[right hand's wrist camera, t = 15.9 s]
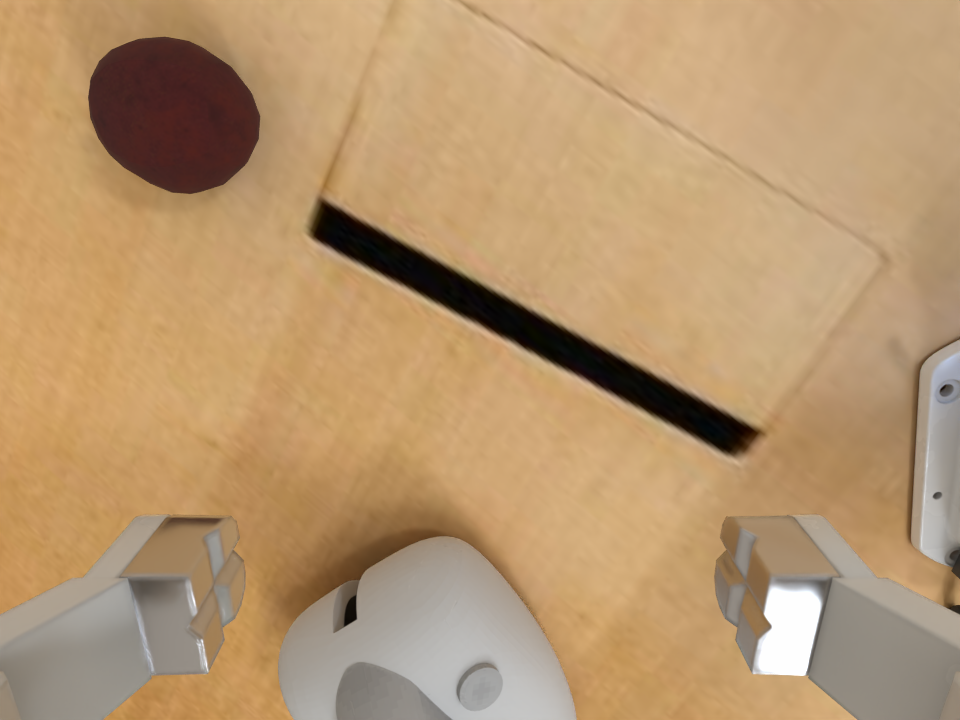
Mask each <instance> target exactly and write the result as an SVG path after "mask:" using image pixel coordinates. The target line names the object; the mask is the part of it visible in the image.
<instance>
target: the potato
mask: <svg viewBox="0 0 960 720" xmlns="http://www.w3.org/2000/svg"><path fill="white" fill-rule="evenodd" d="M88 100H89V109H90V118H91V121H92V123H93V126H94V128H95V131H96V133H97V136H98V138H99V140H100V141H101V143H102V144H103V146H104V147H105V149H106V150H107V151H108V153H109V154H110V155H111V156H112V157H113V158H114V159H115V160H116V161H117V162H118V163H120V164H121V165H122V166H123V167H124V168H126V169H127V170H129V171H131V172H132V173H134V174H136V175H138V176H139V177H141V178H142V179H144V180H146V181H147V182H149V183H150V184H153V185H155V186H158V187H160V188H163V189H165V190H168V191H170V192H173V193H187V194H192V193H197V192H201V191H204V190H208V189H211V188H214V187H217V186H220V185H223V184H225V183H226V182H227V181H228V180H229V179H230V178H231V177H232V176H234V175H235V174H236V173H237V172H238V171H239V170H240V169H241V168H242V167H244V166H245V164H246V163H247V162H248V160H249V158H250V156H251V154H252V152H253V150H254V147H255V145H256V143H257V141H258V139H259V125H260V115H259V112H258V109H257V107H256V104H255V101H254V98H253V95H252V93H251V92H250V90H249V89H248V88H247V86H246V85H245V84H244V83H243V81H242V80H241V79H240V77H239V76H238V75H237V74H236V72H235V71H234V70H233V69H232V67H230V66H229V65H228V64H226V63H225V62H223V61H222V60H220V59H219V58H217V57H216V56H214V55H213V54H211V53H210V52H208V51H207V50H205V49H204V48H202V47H200V46H198V45H196V44H194V43H191V42H189V41H185V40H180V39H174V38H169V37H157V38H145V39H138V40H135V41H132V42H129V43H126V44H124V45H122V46H119V47H117V48H115V49H112V50H111V51H110V52H109V53H108V54H107V55H106V56H104V57H103V58H102V59H101V60H100V61H99V63H98V65H97V67H96V69H95V71H94V73H93V75H92V77H91V80H90V89H89V95H88Z"/></svg>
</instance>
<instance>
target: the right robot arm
mask: <svg viewBox="0 0 960 720" xmlns="http://www.w3.org/2000/svg"><path fill="white" fill-rule="evenodd" d="M944 385H946V386H945V388H944V389H943V390H942V391H940V389H941V388H942V387H943V386H944ZM239 538H240V536H239V531H238V526H237V521H236V520H235V519H234V518H233V517H232V516H213V515H141V516H138V517H135V518H134V519H133V521H132V522H131V523H130V524H129V525H128V526H127V527H126V529H125V530H124V531H123V532H122V533H121V534H120V535H119V537H118V538H117V539H116V540H115V541H114V542H113V543H112V545H111V546H110V547H109V548H108V549H107V550H106V552H105V553H104V554H103V555H102V556H101V557H100V558H99V560H98V561H97V562H96V563H95V564H94V565H93V566H92V568H91V569H90V570H89V571H88V572H87V573H86V574H85V576H84V577H83V578H71V579H69V580H68V581H66V582H64V583H62V584H60V585H58V586H56V587H54V588H52V589H50V590H48V591H46V592H44V593H42V594H40V595H38V596H36V597H34V598H32V599H30V600H28V601H26V602H24V603H22V604H20V605H18V606H16V607H14V608H12V609H10V610H8V611H6V612H4V613H2V614H0V720H103V719H104V718H105V717H106V716H108V715H109V714H110V713H111V712H112V711H114V710H115V709H116V708H117V707H118V706H120V705H121V704H122V703H123V702H124V701H125V700H127V699H128V698H129V697H130V696H131V695H133V694H134V693H135V692H136V691H137V690H138V689H140V688H141V687H142V686H143V685H144V684H146V683H147V682H148V681H149V680H150V679H151V675H183V674H208V672H209V670H210V668H211V666H212V664H213V662H214V660H215V658H216V656H217V654H218V652H219V650H220V648H221V646H222V644H223V642H224V634H223V627H224V626H225V625H227V624H228V623H230V622H231V621H232V620H234V619H235V617H236V615H237V613H238V611H239V609H240V607H241V604H242V599H243V595H244V590H245V567H244V560H243V559H242V558H241V557H240V556H239V555H238V554H237V553H236V552H235V551H234V550H233V549H234V547H235V546H236V544H237V542H238V540H239ZM720 538H721V540H722V542H723V544H724V546H725V547H726V549H727V550H726V551H725V552H724V553H723V554H722V555H721V556H720V557H719V558H718V559H717V560H716V568H715V576H714V578H715V590H716V596H717V600H718V603H719V607H720V609H721V611H722V613H723V615H724V617H725V619H726V620H728V621H729V622H730V623H732V624H733V625H735V626H736V627H738V628H737V634H736V642H737V644H738V646H739V648H740V650H741V652H742V654H743V656H744V658H745V660H746V662H747V664H748V666H749V668H750V670H751V672H752V674H776V675H809V677H808V678H809V679H810V680H811V681H812V682H814V683H815V684H816V685H817V686H818V687H819V688H821V689H822V690H823V691H824V692H825V693H827V694H828V695H829V696H830V697H831V698H832V699H834V700H835V701H836V702H837V703H838V704H840V705H841V706H842V707H843V708H844V709H845V710H847V711H848V712H849V713H850V714H851V715H853V716H854V717H855V718H856V719H857V720H960V605H955V606H953V607H952V608H951V609H948V608H946V607H944V606H942V605H940V604H938V603H936V602H934V601H932V600H930V599H928V598H926V597H924V596H922V595H920V594H918V593H916V592H914V591H912V590H910V589H908V588H906V587H904V586H902V585H900V584H898V583H896V582H894V581H892V580H891V579H889V578H877V577H876V576H875V574H874V573H873V572H872V571H871V570H870V569H869V568H868V566H867V565H866V564H865V563H864V562H863V561H862V560H861V558H860V557H859V556H858V555H857V554H856V553H855V552H854V550H853V549H852V548H851V547H850V546H849V545H848V544H847V542H846V541H845V540H844V539H843V538H842V537H841V535H840V534H839V533H838V532H837V531H836V530H835V529H834V527H833V526H832V525H831V524H830V523H829V522H828V521H827V519H826V518H824V517H823V516H820V515H818V514H806V515H787V516H739V517H726V518H725V520H724V522H723V525H722V530H721V535H720ZM911 543H912V545H913V546H914V547H915V548H916V549H917V550H919V551H920V552H921V553H923V554H924V555H925V556H927V557H929V558H930V559H932V560H934V561H936V562H938V563H941V564H943V565H946V566H949V567H953V569H952V572H953V573H954V574H955V575H956V576H957V577H958V578H959V579H960V339H959V340H957V341H955V342H953V343H951V344H950V345H948V346H946V347H944V348H942V349H941V350H939V351H937V352H936V353H934V354H933V355H931V356H930V357H929V358H928V359H927V360H926V361H925V362H924V364H923V365H922V367H921V370H920V378H919V396H918V414H917V432H916V450H915V468H914V486H913V504H912V522H911Z"/></svg>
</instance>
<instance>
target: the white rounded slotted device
mask: <svg viewBox="0 0 960 720" xmlns="http://www.w3.org/2000/svg"><path fill="white" fill-rule="evenodd" d="M278 674H279V682H280V688H281V691H282V695H283V698H284V701H285V703H286V706H287V708H288V710H289V712H290V714H291V716H292V717H293V719H294V720H577V718H576V712H575V706H574V702H573V698H572V695H571V692H570V688H569V685H568V682H567V680H566V677H565V674H564V672H563V670H562V667H561V665H560V663H559V660H558V658H557V656H556V654H555V652H554V650H553V648H552V646H551V645H550V643H549V641H548V639H547V638H546V636H545V634H544V633H543V631H542V629H541V628H540V626H539V625H538V623H537V621H536V620H535V618H534V617H533V616H532V614H531V613H530V611H529V610H528V608H527V607H526V605H525V604H524V603H523V601H522V600H521V599H520V597H519V596H518V595H517V594H516V592H515V591H514V590H513V588H512V587H511V586H510V585H509V584H508V582H507V581H506V580H505V579H504V578H503V576H502V575H501V574H500V573H499V572H498V571H497V570H496V568H495V567H494V566H493V565H492V564H491V563H490V562H489V561H488V560H487V559H486V558H485V557H484V556H483V555H482V554H481V553H480V552H479V551H478V550H476V549H475V548H474V547H472V546H471V545H470V544H468V543H467V542H465V541H463V540H461V539H458V538H455V537H450V536H439V537H433V538H428V539H424V540H421V541H418V542H416V543H414V544H411V545H409V546H407V547H405V548H403V549H401V550H399V551H397V552H395V553H394V554H392V555H390V556H388V557H387V558H385V559H383V560H382V561H380V562H378V563H377V564H375V565H373V566H371V567H370V568H368V569H367V570H366V571H365V572H364V573H363V575H362V577H361V579H360V580H351V581H347V582H345V583H344V584H342V585H341V586H339V587H337V588H336V589H334V590H333V591H331V592H330V593H328V594H327V595H325V596H324V597H322V598H321V599H319V600H318V601H316V602H315V603H314V604H312V605H311V606H309V607H308V608H307V609H306V610H305V611H304V612H302V613H301V614H300V615H299V616H298V617H297V618H296V620H295V621H294V622H293V624H292V625H291V627H290V628H289V630H288V632H287V634H286V636H285V638H284V641H283V643H282V646H281V649H280V654H279V662H278Z"/></svg>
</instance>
